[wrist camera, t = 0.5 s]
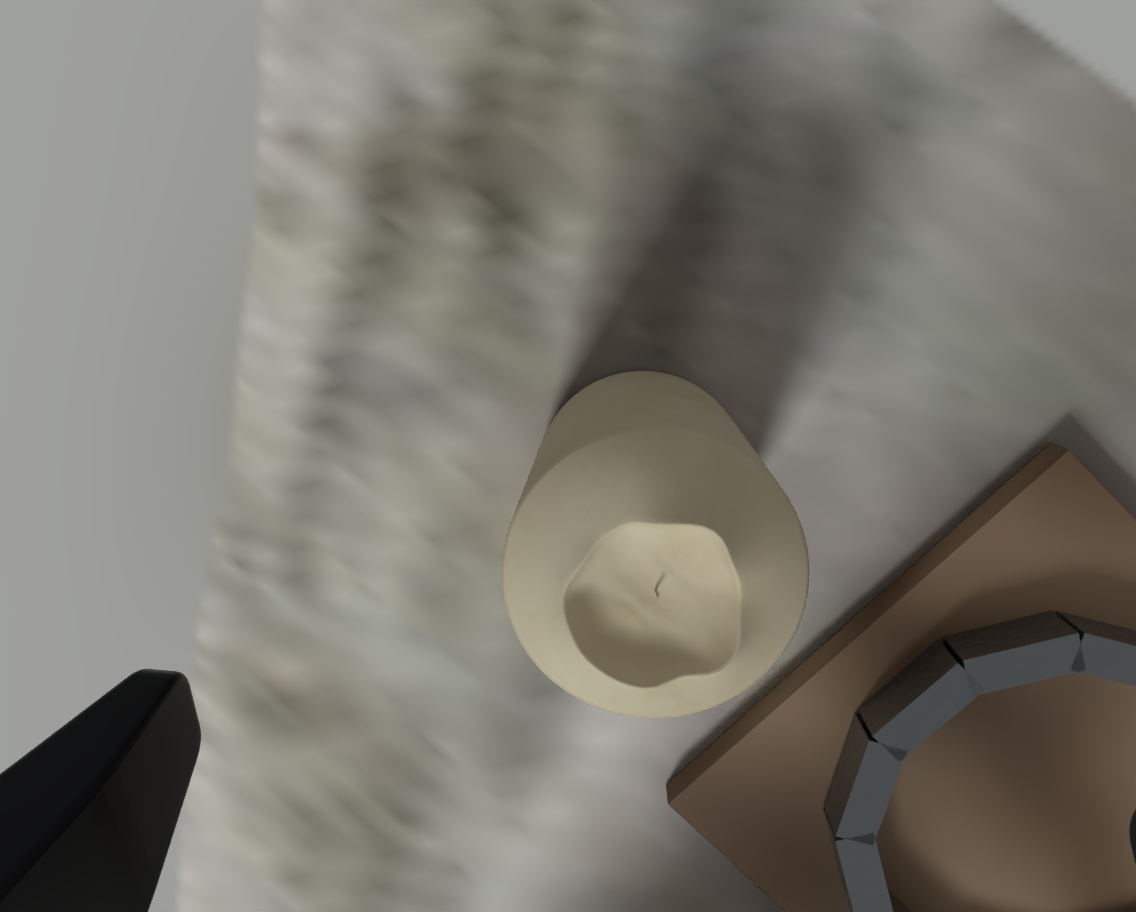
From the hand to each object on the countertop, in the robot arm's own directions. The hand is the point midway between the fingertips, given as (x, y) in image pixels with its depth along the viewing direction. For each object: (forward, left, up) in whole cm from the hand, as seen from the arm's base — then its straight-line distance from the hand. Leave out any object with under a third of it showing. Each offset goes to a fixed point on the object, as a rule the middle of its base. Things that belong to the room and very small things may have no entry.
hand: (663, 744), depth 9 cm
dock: (0, -15, -17) cm, 22 cm away
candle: (-1, -1, -17) cm, 17 cm away
